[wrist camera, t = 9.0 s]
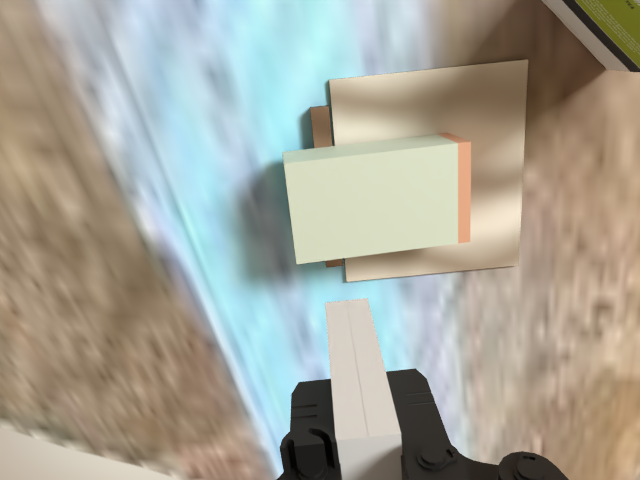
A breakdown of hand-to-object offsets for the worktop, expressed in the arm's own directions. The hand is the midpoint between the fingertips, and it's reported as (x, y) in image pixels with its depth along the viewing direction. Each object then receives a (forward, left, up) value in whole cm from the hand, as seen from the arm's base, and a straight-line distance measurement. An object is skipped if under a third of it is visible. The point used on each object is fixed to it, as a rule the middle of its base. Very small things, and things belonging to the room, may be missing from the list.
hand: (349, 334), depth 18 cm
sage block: (+2, -3, -23) cm, 23 cm away
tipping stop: (+1, +8, -27) cm, 28 cm away
